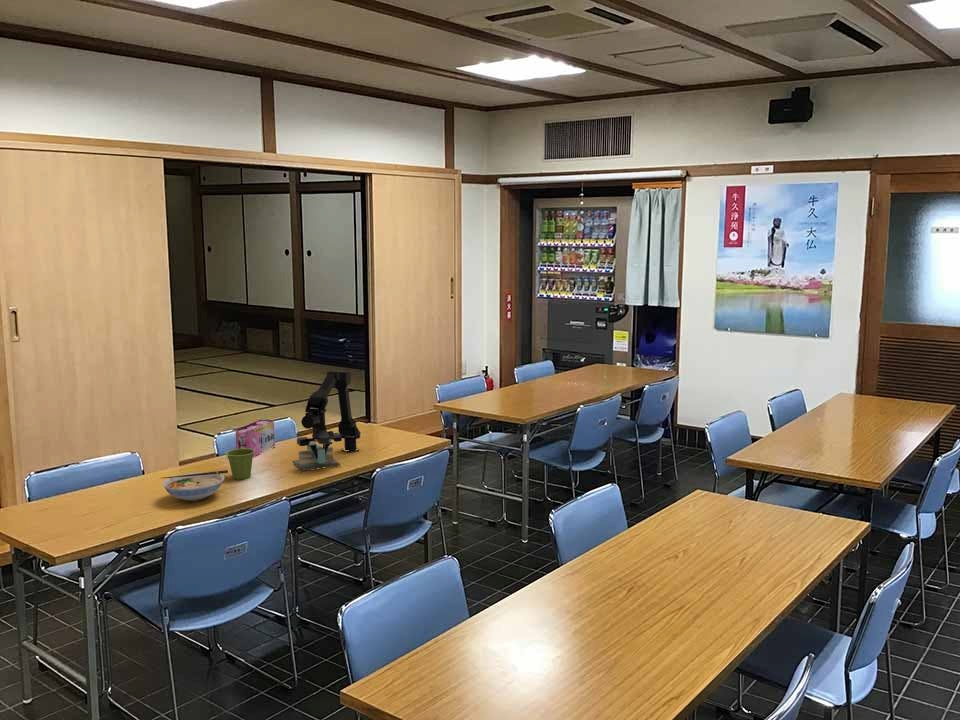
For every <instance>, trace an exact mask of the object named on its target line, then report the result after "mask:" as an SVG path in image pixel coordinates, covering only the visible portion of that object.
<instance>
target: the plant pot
mask: <svg viewBox="0 0 960 720" xmlns="http://www.w3.org/2000/svg"><path fill="white" fill-rule="evenodd" d="M254 452H255V450H253V449H236V448H235V449H231V450H228V451H225V455H226V456H227V460H228V461H229V467H230V471H231V475H232V478H233V480H237V481H239V480H248V479H249V478H251V476H252V475H251V474H252V466H253V460H254V457H253V455H254Z"/></svg>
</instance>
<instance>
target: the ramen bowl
mask: <svg viewBox="0 0 960 720" xmlns="http://www.w3.org/2000/svg"><path fill="white" fill-rule="evenodd" d="M228 473H229V470H228V469H226V470H225V469H224V470H216V471H207V472H205V471H203V472H201V471H200V472H190V473H185V474H180V475H179V474H178V475H174V476H165V477H161V478H160V479H161V480H162V479H165V480H164V481H163V482H162V486H163V488H164V489H165V491H166V492H167V493H168V494H169V495H170V496H172V497H174V498H176V499H177V500H183V501H186V502H198V501H202V500H203V499H205V498H208V497H209V496H211V495H214V493H216V492H217V491H218V489H219V488H220V487H221V486H222V484H223V483H224V480H225V476H224V475H223V474H228Z"/></svg>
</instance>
